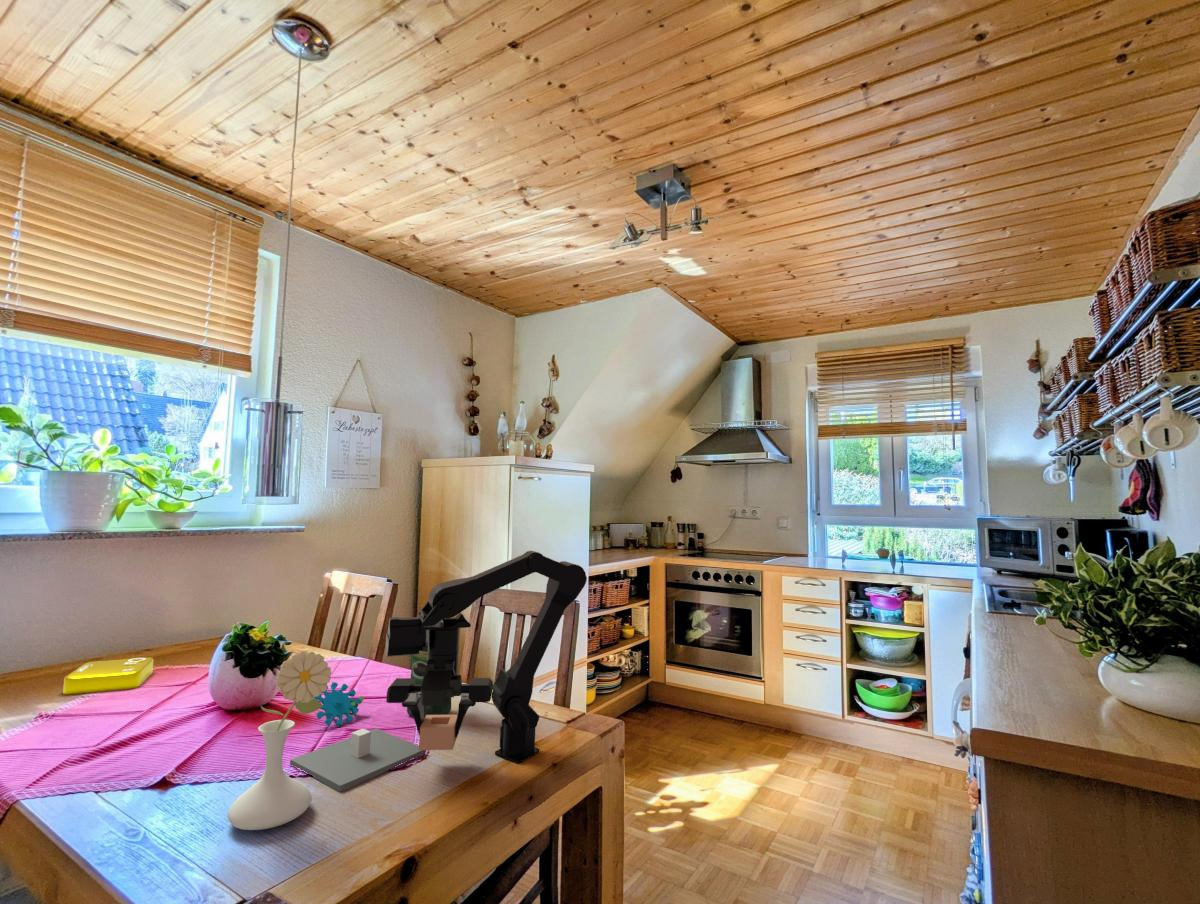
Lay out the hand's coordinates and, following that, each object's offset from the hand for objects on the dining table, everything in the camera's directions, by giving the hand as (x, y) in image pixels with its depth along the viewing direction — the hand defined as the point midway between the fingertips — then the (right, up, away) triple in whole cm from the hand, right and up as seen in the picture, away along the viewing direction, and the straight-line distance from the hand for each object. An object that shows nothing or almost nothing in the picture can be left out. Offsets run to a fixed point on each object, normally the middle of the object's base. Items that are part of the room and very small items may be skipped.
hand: (438, 737), depth 107 cm
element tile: (-96, -7, +40) cm, 104 cm away
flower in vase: (-20, -4, -18) cm, 27 cm away
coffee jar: (-9, -7, +25) cm, 28 cm away
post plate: (-16, -5, +2) cm, 16 cm away
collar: (0, -1, 0) cm, 1 cm away
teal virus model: (-28, -7, +20) cm, 35 cm away
